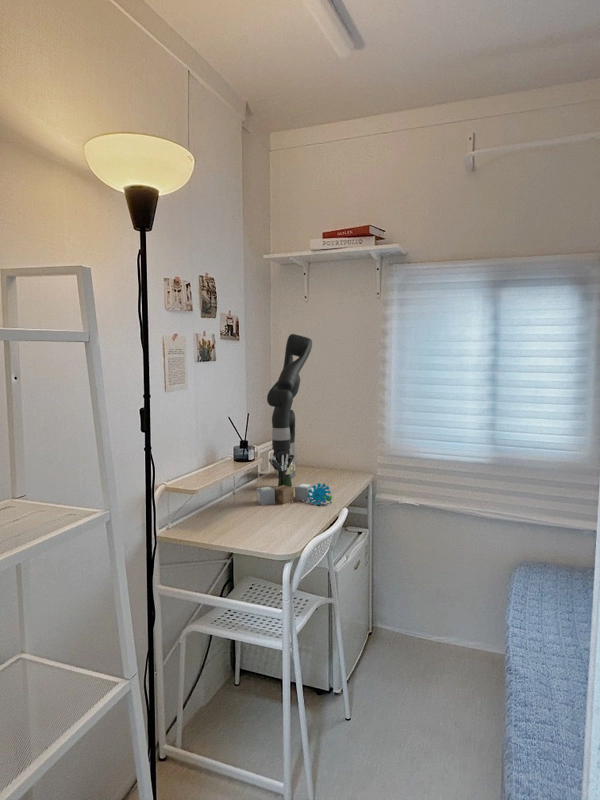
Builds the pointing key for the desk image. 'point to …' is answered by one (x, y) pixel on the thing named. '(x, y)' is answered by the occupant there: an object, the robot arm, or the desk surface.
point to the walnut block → (284, 494)
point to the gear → (320, 494)
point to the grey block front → (265, 495)
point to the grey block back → (303, 491)
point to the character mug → (287, 476)
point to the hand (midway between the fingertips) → (282, 479)
